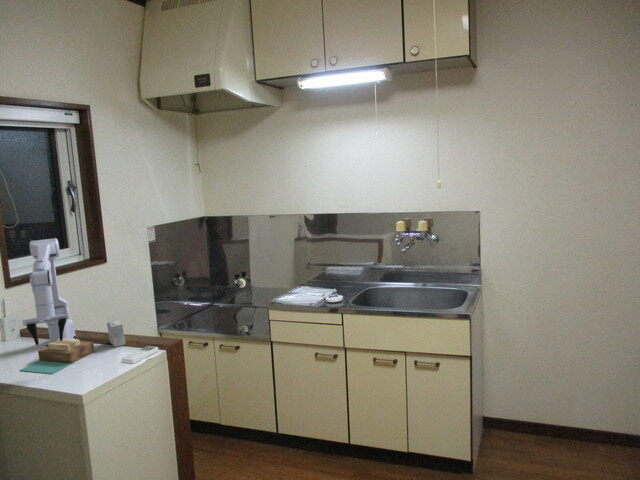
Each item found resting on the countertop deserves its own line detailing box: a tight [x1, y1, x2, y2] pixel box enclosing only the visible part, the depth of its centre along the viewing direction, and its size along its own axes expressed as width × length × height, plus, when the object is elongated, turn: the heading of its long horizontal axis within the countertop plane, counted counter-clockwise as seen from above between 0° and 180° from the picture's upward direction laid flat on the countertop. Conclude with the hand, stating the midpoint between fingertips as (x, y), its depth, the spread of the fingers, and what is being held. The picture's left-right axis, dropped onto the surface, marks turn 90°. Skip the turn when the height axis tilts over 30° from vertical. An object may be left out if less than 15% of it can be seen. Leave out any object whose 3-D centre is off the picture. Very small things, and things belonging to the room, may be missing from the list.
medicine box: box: [106, 319, 126, 348], centre depth 210 cm, size 8×4×9 cm, turn 34°
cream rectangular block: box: [48, 338, 81, 351], centre depth 199 cm, size 6×9×2 cm, turn 72°
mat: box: [19, 360, 72, 375], centre depth 191 cm, size 9×15×1 cm, turn 72°
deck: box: [37, 340, 95, 365], centre depth 200 cm, size 12×15×4 cm
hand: (49, 342), depth 186 cm, fingers open, 7 cm apart
